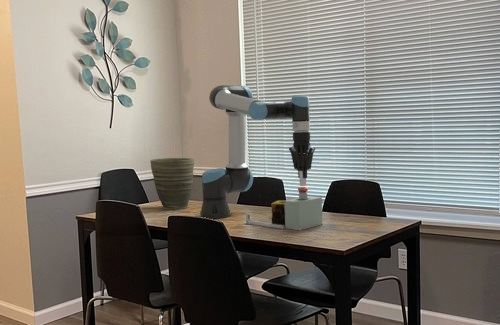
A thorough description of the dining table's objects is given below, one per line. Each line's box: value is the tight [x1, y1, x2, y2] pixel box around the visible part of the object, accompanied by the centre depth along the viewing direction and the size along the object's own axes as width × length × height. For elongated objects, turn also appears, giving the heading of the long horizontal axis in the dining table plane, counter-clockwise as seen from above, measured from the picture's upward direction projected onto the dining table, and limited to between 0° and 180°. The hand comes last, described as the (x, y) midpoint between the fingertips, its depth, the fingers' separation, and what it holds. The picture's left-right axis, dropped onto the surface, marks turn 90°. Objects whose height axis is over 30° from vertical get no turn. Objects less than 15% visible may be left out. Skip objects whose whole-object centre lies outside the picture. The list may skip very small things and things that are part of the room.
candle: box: [271, 200, 285, 225], centre depth 255 cm, size 10×10×10 cm
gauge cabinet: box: [283, 195, 323, 231], centre depth 248 cm, size 9×16×12 cm, turn 136°
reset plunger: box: [297, 186, 309, 200], centre depth 247 cm, size 4×4×8 cm
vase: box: [150, 157, 195, 211], centre depth 314 cm, size 25×24×30 cm
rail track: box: [245, 214, 286, 230], centre depth 258 cm, size 22×19×4 cm
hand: (303, 185), depth 246 cm, fingers closed
